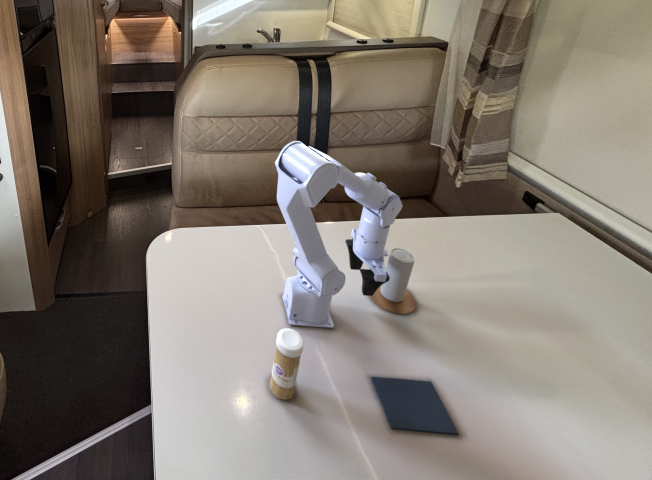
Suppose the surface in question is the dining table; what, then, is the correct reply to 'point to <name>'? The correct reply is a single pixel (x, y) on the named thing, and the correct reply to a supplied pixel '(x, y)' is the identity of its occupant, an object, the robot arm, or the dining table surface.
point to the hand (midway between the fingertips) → (360, 281)
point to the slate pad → (413, 406)
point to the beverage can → (397, 274)
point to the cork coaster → (395, 303)
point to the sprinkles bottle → (286, 363)
